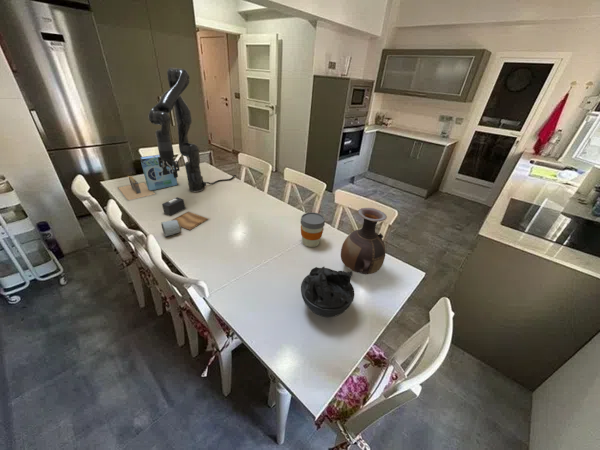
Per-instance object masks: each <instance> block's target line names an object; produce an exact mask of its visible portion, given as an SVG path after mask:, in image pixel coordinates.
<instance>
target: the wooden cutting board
mask: <svg viewBox="0 0 600 450" xmlns="http://www.w3.org/2000/svg"><path fill="white" fill-rule="evenodd" d="M172 220H178V221H179V223H180V226H181V229H185V230H187V231H191V230H193V229H195V228H196V227H198V226H200V225H202V224H203V223H205V222H206V221H208V220H209V218H207V217H204V216H202V215H199V214H196V213H194V212H190V211H186V212H185V213H183V214H181V215H179V216H177V217H175V218H173V219H172Z"/></svg>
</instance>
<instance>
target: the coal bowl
mask: <svg viewBox="0 0 600 450" xmlns="http://www.w3.org/2000/svg"><path fill="white" fill-rule="evenodd" d="M352 277H353V271H352V270H350V271H344V270H334V269H332V268H328V267H325V266H322V267H317V266H316V267H313V268H312V269H311V270H310V272H309V274H307V275H306V276H305V277H304V278H303V280H302V282H301V284H300V293H301V298H302V300H303V302H304V305H305V306H306V307H307V308H308V309H309V310H310V311H311V312H312V313H314V314H315V315H317V316H320V317H325V318H333V317H337V316H339V315H342V314H344V313H345V312H346V311H347V310H348V309H350V307H351V305H352V304H353V302H354V299H355V289H354V288H355V287H354V286H353V284H352V282H351V280H352Z"/></svg>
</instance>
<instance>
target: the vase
mask: <svg viewBox="0 0 600 450" xmlns="http://www.w3.org/2000/svg"><path fill="white" fill-rule="evenodd" d="M357 214H358V216H359V217H361V218H362V219H363V223H362V227H361V228H360V229H355V230H353V231H352V232H350V233H349V234H348V235H347V236H346V238H345V240H344V241H343V243H342V245H341V249H340V260H341V262H342V264H343V265H344V266H345V267H346V268H348V269H349V270H350V271H352V272H355V273H358V274H361V275H372V274H376V273H378V272H379V271H380V270H381V268H382V266H383V265H384V263H385V258H386V245H385V242H384V240H383V238H384V235H383V234H382V233H377V232H376V227H377V224H378V222H383V221H386V220H387V218H388V217H387V214H386V213H384V211H382V210H380V209H377V208H373V207H362V208H359V209H358V210H357Z"/></svg>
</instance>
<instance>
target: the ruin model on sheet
mask: <svg viewBox="0 0 600 450" xmlns="http://www.w3.org/2000/svg"><path fill="white" fill-rule="evenodd" d="M127 177H128V180H129V184H128V185H124V186H120V187H118V189H119V191H120V192H121V194H123V196H124V197H125V198H126V200H127V201H131V200H136V199H140V198H143V197H148V196H152V195H156V193H155V192H154V190H151V191H150V190H149V189H148V188H147V184H146V182H145V181H144V182H138V181H137V179H136V178H134V177H133V176H131V175H127Z"/></svg>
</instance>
